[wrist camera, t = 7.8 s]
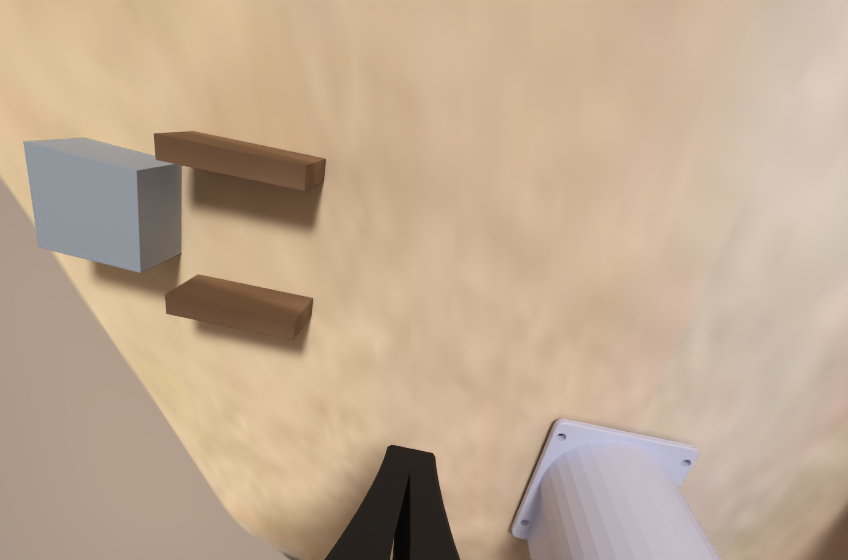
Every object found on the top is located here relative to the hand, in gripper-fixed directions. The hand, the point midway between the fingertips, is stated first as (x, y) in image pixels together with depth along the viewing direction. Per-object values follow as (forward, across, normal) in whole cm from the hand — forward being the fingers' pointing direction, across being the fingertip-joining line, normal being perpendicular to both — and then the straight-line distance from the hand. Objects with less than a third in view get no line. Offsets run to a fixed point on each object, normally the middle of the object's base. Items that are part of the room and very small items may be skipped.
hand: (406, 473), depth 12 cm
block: (+10, +15, -3) cm, 18 cm away
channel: (+9, +9, -3) cm, 13 cm away
